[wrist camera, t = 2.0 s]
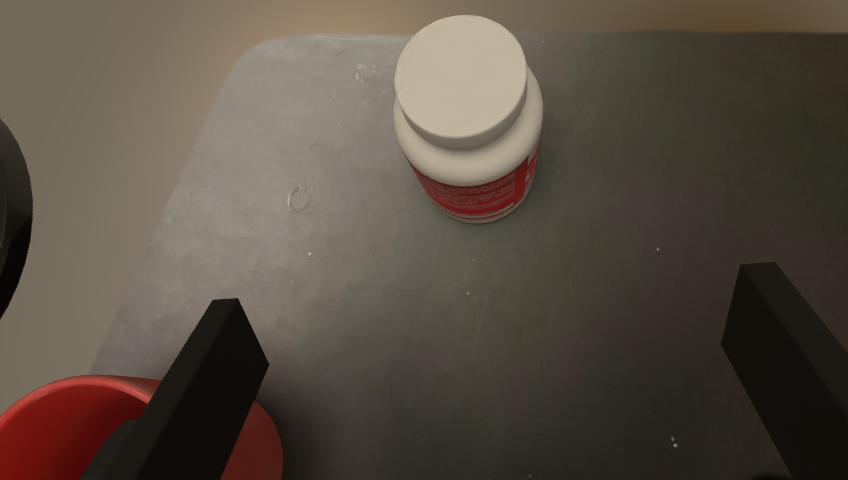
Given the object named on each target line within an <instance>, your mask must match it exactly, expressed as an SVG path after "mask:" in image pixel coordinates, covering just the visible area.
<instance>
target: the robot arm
mask: <svg viewBox="0 0 848 480" xmlns="http://www.w3.org/2000/svg"><path fill="white" fill-rule="evenodd" d="M721 346H722V347H723V349H724V351H725V353H726V355H727V357H728V359H729V360H730V362H731V364H732V366H733V368H734V370H735V372H736V373H737V375H738V377H739V379H740V381H741V383H742V385H743V386H744V388H745V390H746V392H747V394H748V396H749V398H750V399H751V401H752V403H753V405H754V407H755V409H756V411H757V412H758V414H759V416H760V418H761V420H762V422H763V424H764V425H765V427H766V429H767V431H768V433H769V435H770V437H771V438H772V440H773V442H774V444H775V446H776V448H777V450H778V451H779V453H780V455H781V457H782V459H783V461H784V463H785V464H786V466H787V468H788V470H789V472H790V474H791V476H792V477H793V479H794V480H848V353H847V352H846V351H845V349H844V348H843V347H842V346H841V344H840V343H839V342H838V341H837V339H836V338H835V337H834V336H833V334H832V333H831V332H830V331H829V329H828V328H827V327H826V325H825V324H824V323H823V322H822V320H821V319H820V318H819V317H818V315H817V314H816V313H815V312H814V310H813V309H812V308H811V307H810V305H809V304H808V303H807V302H806V300H805V299H804V298H803V297H802V295H801V294H800V293H799V292H798V290H797V289H796V288H795V287H794V285H793V284H792V283H791V282H790V280H789V279H788V278H787V277H786V275H785V274H784V273H783V272H782V270H781V269H780V268H779V267H778V265H777V264H776V263H775V262H770V263H755V264H740V269H739V273H738V277H737V281H736V285H735V289H734V293H733V297H732V301H731V305H730V309H729V313H728V317H727V321H726V325H725V329H724V334H723V338H722V342H721ZM268 367H269V363H268V361H267V359H266V357H265V354H264V352H263V350H262V348H261V346H260V344H259V342H258V340H257V338H256V335H255V333H254V331H253V329H252V327H251V325H250V323H249V321H248V319H247V316H246V314H245V312H244V310H243V308H242V306H241V304H240V302H239V299H238V298H234V299H219V300H213V301H212V302H211V304H210V305H209V307H208V308H207V310H206V312H205V313H204V315H203V316H202V318H201V320H200V321H199V323H198V324H197V326H196V328H195V329H194V331H193V332H192V334H191V335H190V337H189V339H188V340H187V342H186V343H185V345H184V347H183V348H182V350H181V351H180V353H179V355H178V356H177V358H176V359H175V361H174V363H173V364H172V366H171V367H170V369H169V370H168V372H167V374H166V375H165V377H164V378H163V380H162V382H161V383H160V385H159V386H158V388H157V390H156V391H155V393H154V394H153V396H152V397H151V399H150V401H149V402H148V404H147V405H146V407H145V409H144V410H143V412H142V413H141V415H140V417H139V418H138V420H125V421H124V422H123V423H122V424H121V425H120V426H119V427H118V428H117V429H116V430H115V431H114V432H113V433H112V434H110V435H109V436H108V437H107V438H106V439H105V441H104V442H103V444H102V445H101V447H100V448H99V450H98V451H97V453H96V454H95V456H94V457H93V459H92V460H91V465H88V466H87V468H86V469H85V471H84V472H83V474H82V475H81V477H80V478H79V479H80V480H220V479H221V477H222V475H223V472H224V470H225V468H226V465H227V463H228V461H229V458H230V456H231V454H232V451H233V449H234V446H235V444H236V442H237V439H238V437H239V435H240V432H241V430H242V428H243V425H244V423H245V421H246V418H247V416H248V414H249V411H250V409H251V407H252V404H253V402H254V400H255V397H256V395H257V393H258V390H259V388H260V385H261V383H262V381H263V378H264V376H265V374H266V371H267V369H268Z"/></svg>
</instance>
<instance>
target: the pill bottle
mask: <svg viewBox="0 0 848 480" xmlns="http://www.w3.org/2000/svg"><path fill="white" fill-rule="evenodd" d="M395 92H396V97H395V102H394V109H393V120H394V129H395V133H396V137H397V140H398V142H399V145H400V147H401V149H402V151H403V153H404V155H405V157H406V158H407V160H408V161H409V163H410V165H411V167H412V168H413V170H414V172H415V173H416V175H417V177H418V179H419V180H420V182H421V184H422V186H423V187H424V189H425V191H426V193H427V194H428V196H429V197H430V199H431V200H432V202H433V203H434V204H435V205H436V206H437V207H438V208H439V209H440V210H441V211H442V212H443V213H445V214H446V215H448V216H450V217H452V218H454V219H456V220H459V221H462V222H467V223H486V222H491V221H495V220H497V219H500V218H502V217H504V216H506V215H507V214H509V213H510V212H512V211H513V210H514V209H516V208H517V207H518V206H519V205H520V204H521V203H522V201H523V200H524V199H525V197H526V196H527V194H528V192H529V190H530V188H531V185H532V182H533V178H534V174H535V169H536V162H537V156H538V150H539V143H540V135H541V128H542V121H543V103H542V96H541V92H540V88H539V85H538V82H537V80H536V78H535V76H534V74H533V73H532V71H531V70H530V68H529V67H528V66H527V64H526V59H525V56H524V53H523V50H522V48H521V46H520V44H519V43H518V41H517V40H516V38H515V37H514V36H513V35H512V34H511V33H510V32H509V31H508V30H507V29H506V28H504V27H503V26H501V25H500V24H498V23H496V22H494V21H492V20H489V19H487V18H484V17H479V16H473V15H460V16H452V17H447V18H443V19H440V20H438V21H436V22H433V23H431V24H430V25H428V26H426V27H424V28H423V29H422V30H420V31H419V32H418V33H417V34H416V35H415V36H414V37H413V38H412V39H411V40H410V41H409V42H408V44H407V45H406V46H405V48H404V49H403V51H402V53H401V55H400V58H399V60H398V63H397V67H396V72H395Z"/></svg>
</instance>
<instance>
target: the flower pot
mask: <svg viewBox="0 0 848 480" xmlns="http://www.w3.org/2000/svg"><path fill="white" fill-rule="evenodd" d="M161 382H162V380H155V379H146V378H137V377H127V376H114V375H82V376H74V377H68V378H64V379H61V380H58V381H54V382H52V383H49V384H47V385H45V386H42V387H40V388H38V389H36V390H34V391H32V392H30V393H29V394H27V395H26V396H25V397H23V398H21V399H20V400H19V401H17V402H16V403H15V404H13V405H12V406H11V407H10V408H8V409H7V410H6V411H5V412H4V413H3V414H2V415H1V416H0V480H80V479H79V478H80V477H81V475H82V474H83V472H84V471H85V469H86V468H87V466H88V465H91V460H92V459H93V457H94V456H95V454H96V453H97V451H98V450H99V448H100V447H101V445H102V444H103V442H104V441H105V439H106V438H107V437H108V436H109V435H110V434H112V433H113V432H114V431H115V430H116V429H117V428H118V427H119V426H120V425H121V424H122V423H123V422H124V421H125V420H138V418H139V417H140V415H141V413H142V412H143V410H144V409H145V407H146V405H147V404H148V402H149V401H150V399H151V397H152V396H153V394H154V393H155V391H156V390H157V388H158V386H159V385H160V383H161ZM282 472H283V449H282V443H281V439H280V436H279V432H278V430H277V428H276V425H275V424H274V422H273V420H272V419H271V417H270V416H269V414H268V413H267V412H266V411H265V409H264V408H263V407H262V406H261V405H260V404H259V403H257V402H256V401H255V400H254V402H253V404H252V407H251V409H250V411H249V414H248V416H247V418H246V421H245V423H244V425H243V428H242V430H241V432H240V435H239V437H238V439H237V442H236V444H235V446H234V449H233V451H232V454H231V456H230V458H229V461H228V463H227V465H226V468H225V470H224V472H223V475H222V477H221V479H220V480H281V478H282Z"/></svg>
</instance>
